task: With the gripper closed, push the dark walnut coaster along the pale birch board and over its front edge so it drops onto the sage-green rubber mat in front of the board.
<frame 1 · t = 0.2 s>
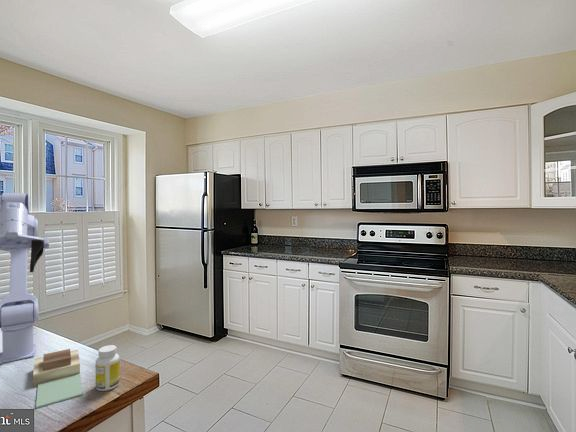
hand: (10, 271, 73), 31 cm above the worktop, tool tilted 45°, fingers open, 7 cm apart
birch board: (57, 371, 87), on the worktop
green mat: (59, 390, 79), on the worktop
walnut coaster: (57, 362, 86), point 3 cm above the worktop, touching birch board
supplement bottle: (107, 386, 82), on the worktop
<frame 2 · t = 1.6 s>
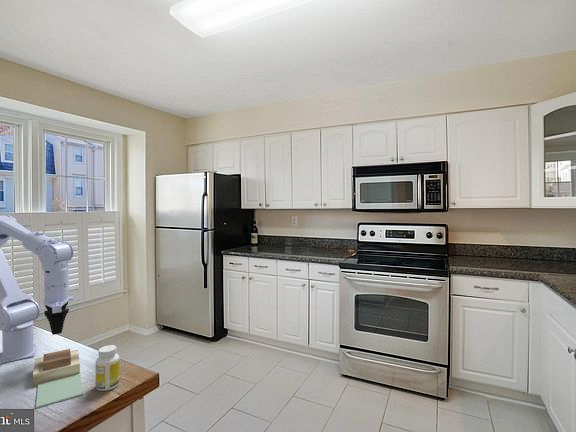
hand: (56, 330, 93), 9 cm above the worktop, tool pointing down, fingers open, 5 cm apart
nothing on the worktop moved.
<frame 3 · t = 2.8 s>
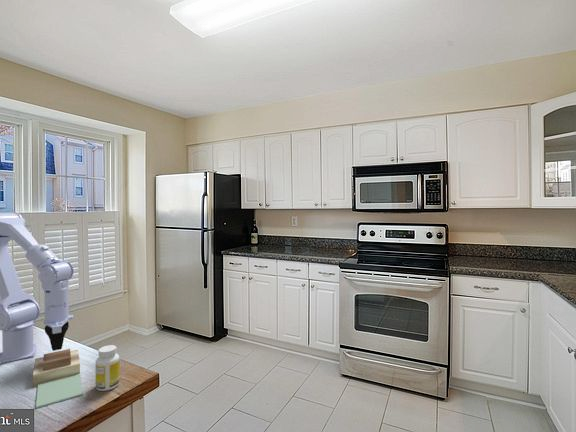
hand: (57, 349, 93), 4 cm above the worktop, tool pointing down, fingers closed
nothing on the worktop moved.
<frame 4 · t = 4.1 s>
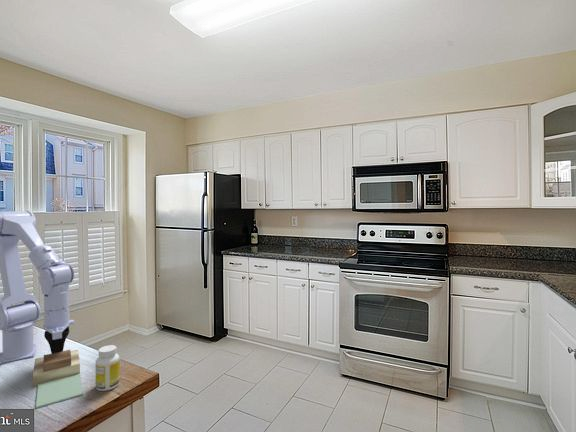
hand: (57, 355, 89), 4 cm above the worktop, tool pointing down, fingers closed
walnut coaster: (57, 363, 86), point 3 cm above the worktop, touching birch board, gripper
everything else where it was.
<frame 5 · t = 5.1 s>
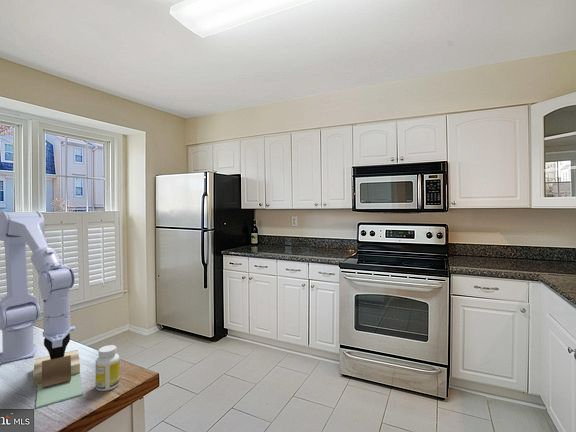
hand: (57, 363, 84), 4 cm above the worktop, tool pointing down, fingers closed
walnut coaster: (56, 370, 82), point 3 cm above the worktop, tilted 72°, touching green mat
everything else where it was.
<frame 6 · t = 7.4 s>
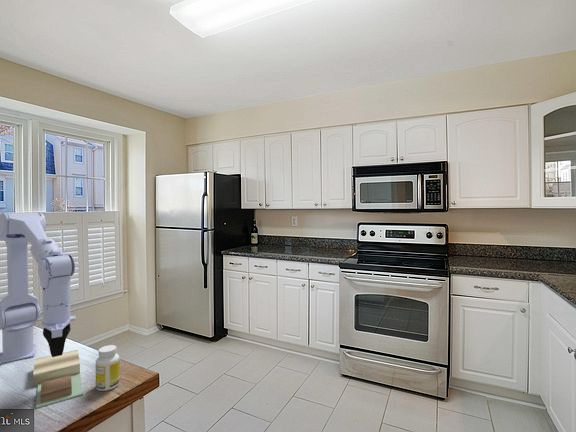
hand: (57, 355, 81), 8 cm above the worktop, tool pointing down, fingers closed
walnut coaster: (56, 384, 77), point 2 cm above the worktop, tilted 180°, touching green mat
everything else where it was.
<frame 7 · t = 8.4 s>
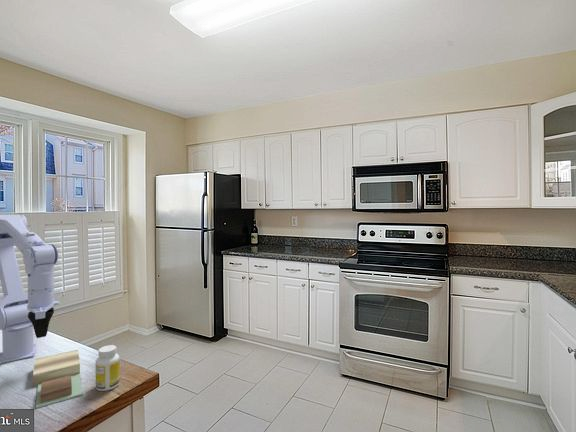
hand: (41, 336, 88), 9 cm above the worktop, tool pointing down, fingers closed
nothing on the worktop moved.
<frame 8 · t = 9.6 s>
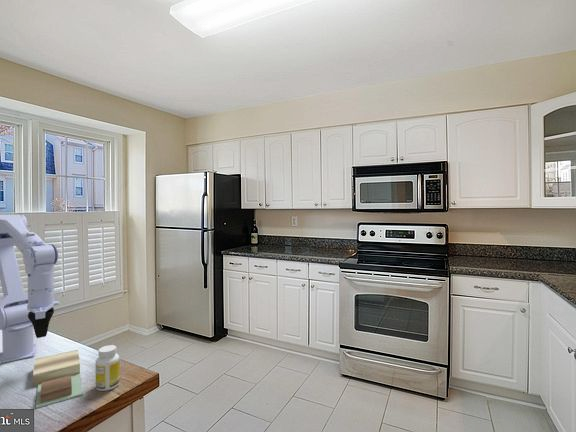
hand: (41, 336, 88), 9 cm above the worktop, tool pointing down, fingers closed
nothing on the worktop moved.
at the end: walnut coaster point 2.4 cm above the worktop; walnut coaster inside the target area on the green mat (1.6 cm from its centre), point 2.4 cm above the green mat's base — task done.
